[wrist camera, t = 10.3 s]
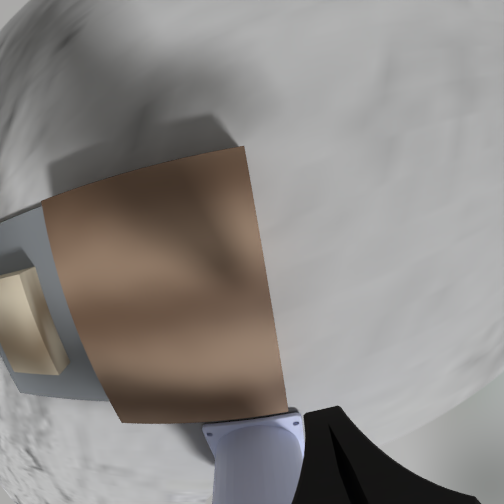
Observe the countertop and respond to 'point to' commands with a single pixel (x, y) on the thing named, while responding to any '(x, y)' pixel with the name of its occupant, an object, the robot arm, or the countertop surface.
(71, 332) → the grey flat slab
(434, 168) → the countertop surface
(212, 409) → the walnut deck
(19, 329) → the birch tile
